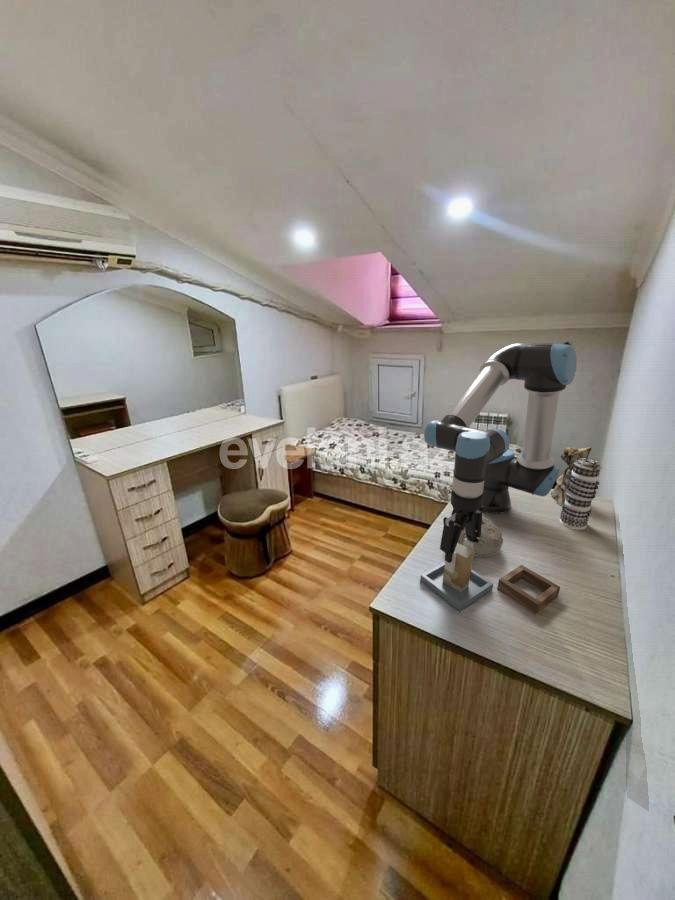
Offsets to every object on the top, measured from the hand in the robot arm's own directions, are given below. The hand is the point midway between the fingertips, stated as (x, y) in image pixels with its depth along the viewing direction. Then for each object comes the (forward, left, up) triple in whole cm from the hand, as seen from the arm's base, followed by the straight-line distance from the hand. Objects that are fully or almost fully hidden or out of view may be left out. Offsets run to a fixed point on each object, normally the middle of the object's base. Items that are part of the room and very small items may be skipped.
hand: (458, 564), depth 98 cm
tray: (0, 0, -7) cm, 7 cm away
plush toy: (-76, -6, -8) cm, 77 cm away
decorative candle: (-61, +3, -8) cm, 62 cm away
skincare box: (0, 0, -7) cm, 7 cm away
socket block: (-14, +13, -7) cm, 21 cm away
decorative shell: (-19, -9, -8) cm, 22 cm away
